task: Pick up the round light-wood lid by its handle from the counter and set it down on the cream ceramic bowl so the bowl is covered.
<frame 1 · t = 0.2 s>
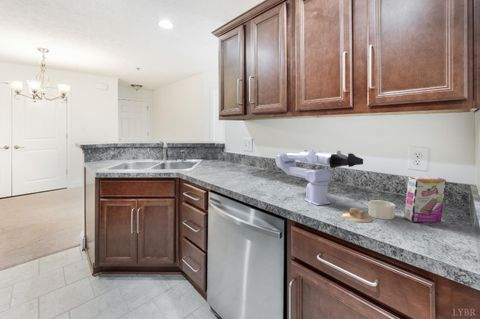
hand: (355, 162, 98), 21 cm above the worktop, tool horizontal, fingers open, 7 cm apart
bowl: (380, 215, 100), on the worktop
lid: (356, 218, 98), on the worktop
candy bar box: (422, 221, 95), on the worktop
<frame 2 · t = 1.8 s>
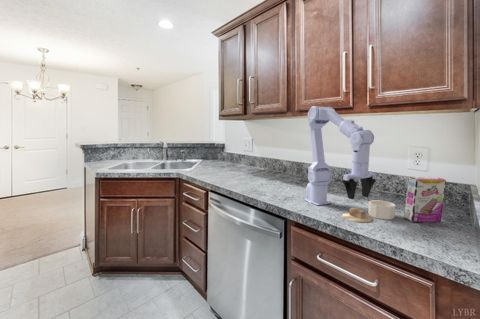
hand: (358, 197, 97), 8 cm above the worktop, tool pointing down, fingers open, 7 cm apart
nothing on the worktop moved.
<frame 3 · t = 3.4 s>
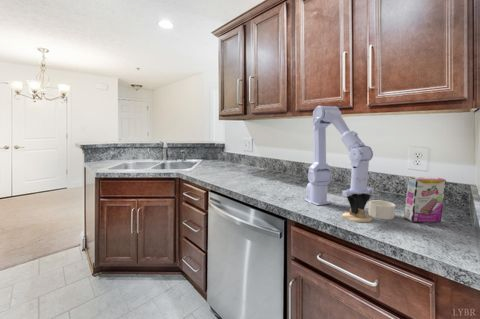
hand: (357, 212, 97), 2 cm above the worktop, tool pointing down, fingers closed on lid, 2 cm apart
lid: (356, 217, 98), on the worktop, touching gripper
everything else where it was.
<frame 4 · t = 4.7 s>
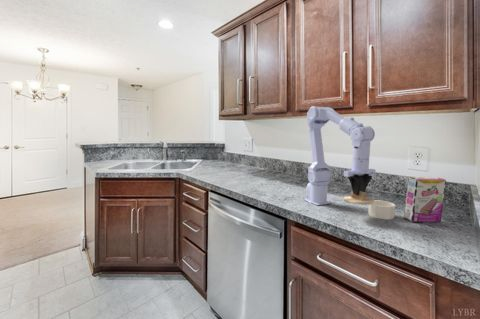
hand: (358, 194, 97), 9 cm above the worktop, tool pointing down, fingers closed on lid, 2 cm apart
lid: (358, 200, 97), point 7 cm above the worktop, touching gripper
everything else where it was.
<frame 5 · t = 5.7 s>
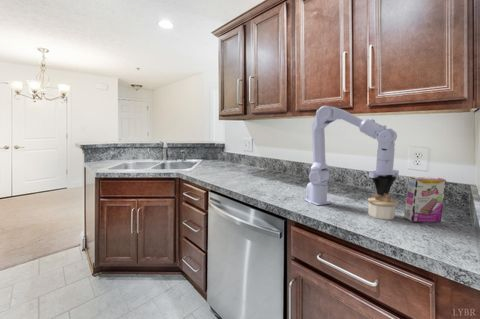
hand: (382, 194, 99), 9 cm above the worktop, tool pointing down, fingers closed on lid, 2 cm apart
lid: (382, 202, 99), point 5 cm above the worktop, touching gripper
everything else where it was.
when the fingers open (8 cm above the worktop, at t = 6.3 s): lid stays where it is, resting on bowl.
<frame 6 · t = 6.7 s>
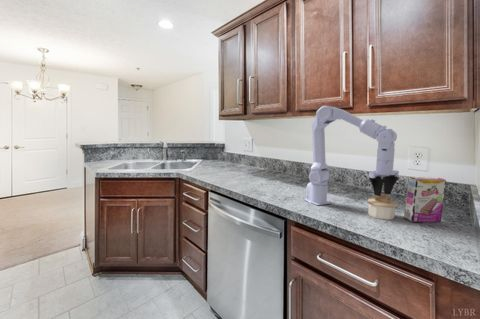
hand: (382, 194, 99), 9 cm above the worktop, tool pointing down, fingers open, 5 cm apart
lid: (382, 203, 100), point 5 cm above the worktop, touching bowl
everything else where it was.
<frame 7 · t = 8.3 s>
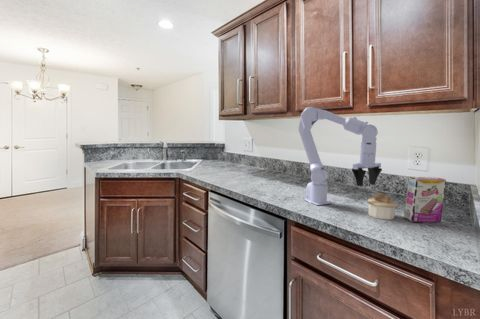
hand: (365, 185, 108), 10 cm above the worktop, tool pointing down, fingers open, 7 cm apart
nothing on the worktop moved.
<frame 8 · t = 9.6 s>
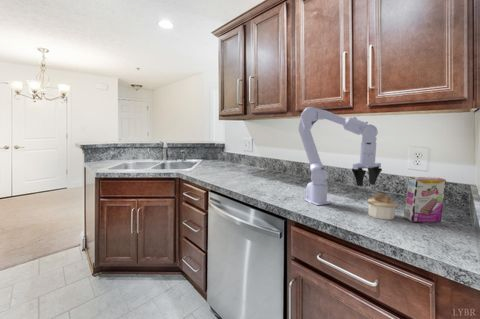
hand: (365, 185, 108), 10 cm above the worktop, tool pointing down, fingers open, 7 cm apart
nothing on the worktop moved.
at the end: lid 0.2 cm off-centre on the bowl, point 5.0 cm above the bowl's base; lid tilted 0°; the gripper is holding nothing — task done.
